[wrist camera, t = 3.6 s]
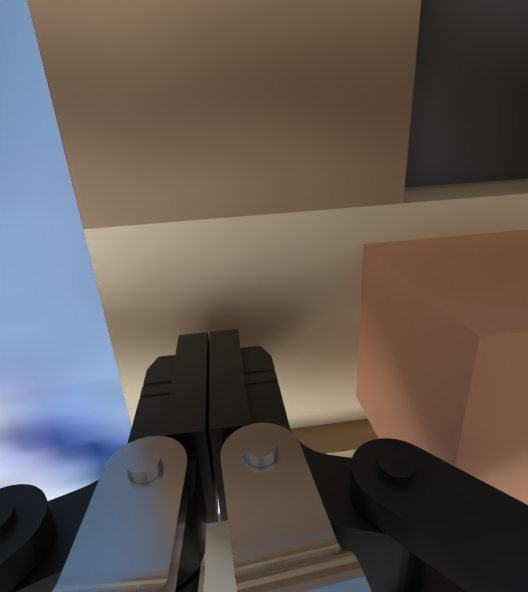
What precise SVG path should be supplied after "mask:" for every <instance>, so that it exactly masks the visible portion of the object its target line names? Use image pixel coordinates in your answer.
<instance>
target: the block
mask: <svg viewBox="0 0 528 592" xmlns="http://www.w3.org/2000/svg"><path fill="white" fill-rule="evenodd" d="M356 397H357V399H358V401H359V403H360V405H361V406H362V408H363V410H364V412H365V414H366V416H367V418H368V420H369V422H370V423H371V425H372V427H373V429H374V431H375V433H376V435H377V437H378V439H379V438H392V439H398V440H402V441H405V442H409V443H411V444H413V445H415V446H417V447H419V448H421V449H423V450H425V451H427V452H429V453H430V454H432V455H434V456H436V457H438V458H440V459H442V460H444V461H446V462H447V463H449V464H451V465H453V466H455V467H457V468H459V469H461V470H463V471H465V472H466V473H468V474H470V475H472V476H474V477H476V478H478V479H480V480H482V481H483V482H485V483H487V484H489V485H491V486H493V487H495V488H497V489H499V490H500V491H502V492H504V493H506V494H508V495H510V496H512V497H514V498H516V499H518V500H519V501H521V502H523V503H525V504H527V505H528V230H517V231H506V232H495V233H483V234H472V235H461V236H450V237H439V238H427V239H416V240H405V241H394V242H383V243H371V244H364V248H363V268H362V287H361V307H360V326H359V346H358V365H357V385H356Z"/></svg>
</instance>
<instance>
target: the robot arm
mask: <svg viewBox="0 0 528 592" xmlns="http://www.w3.org/2000/svg"><path fill="white" fill-rule="evenodd" d="M218 499H219V507H220V514H221V521H225V520H228V522H229V530H230V538H231V546H232V554H233V562H234V570H235V578H236V586H237V592H528V505H527V504H525V503H523V502H521V501H519V500H518V499H516V498H514V497H512V496H510V495H508V494H506V493H504V492H502V491H500V490H499V489H497V488H495V487H493V486H491V485H489V484H487V483H485V482H483V481H482V480H480V479H478V478H476V477H474V476H472V475H470V474H468V473H466V472H465V471H463V470H461V469H459V468H457V467H455V466H453V465H451V464H449V463H447V462H446V461H444V460H442V459H440V458H438V457H436V456H434V455H432V454H430V453H429V452H427V451H425V450H423V449H421V448H419V447H417V446H415V445H413V444H411V443H409V442H405V441H402V440H398V439H392V438H379V439H374V440H371V441H368V442H366V443H364V444H362V445H361V446H360V447H359V448H358V449H357V450H356V451H355V452H354V455H353V457H352V458H350V457H342V456H335V455H329V454H324V453H320V452H317V451H314V450H312V449H310V448H308V447H307V446H305V445H303V444H302V443H301V442H300V441H299V440H298V439H297V438H296V436H295V435H294V434H293V433H292V431H291V429H290V426H289V422H288V418H287V414H286V410H285V406H284V402H283V399H282V395H281V391H280V387H279V383H278V379H277V375H276V372H275V367H274V364H273V360H272V356H271V355H270V354H269V353H268V352H267V351H266V350H265V349H264V348H262V347H261V346H253V347H243V348H240V340H239V333H238V329H231V330H221V331H211V332H210V343H209V336H208V332H202V333H193V334H183V335H179V336H178V341H177V348H176V354H175V355H169V356H159V357H158V358H157V359H156V360H155V361H154V362H153V363H152V364H151V366H150V367H149V368H148V369H147V371H146V375H145V379H144V382H143V387H142V390H141V394H140V399H139V402H138V405H137V409H136V413H135V417H134V421H133V424H132V428H131V432H130V436H129V440H128V444H127V445H125V446H124V447H122V448H121V449H119V450H118V451H117V452H116V453H115V454H114V455H113V456H112V457H111V458H110V459H109V460H108V462H107V463H106V465H105V467H104V469H103V471H102V474H101V476H100V479H99V480H97V481H95V482H94V483H92V484H90V485H88V486H85V487H83V488H81V489H78V490H76V491H73V492H71V493H68V494H65V495H63V496H60V497H58V498H55V499H53V500H50V501H47V499H46V496H45V494H44V493H43V492H42V491H41V490H40V489H39V488H37V487H35V486H32V485H26V484H19V485H11V486H7V487H3V488H0V592H203V585H204V573H205V559H204V553H205V542H206V539H205V538H206V523H213V522H218Z"/></svg>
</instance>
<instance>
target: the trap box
mask: <svg viewBox="0 0 528 592" xmlns="http://www.w3.org/2000/svg"><path fill="white" fill-rule="evenodd" d="M27 1H28V5H29V9H30V13H31V17H32V22H33V26H34V30H35V34H36V38H37V42H38V46H39V50H40V54H41V58H42V62H43V66H44V70H45V75H46V79H47V83H48V87H49V91H50V95H51V99H52V103H53V107H54V111H55V115H56V119H57V124H58V128H59V132H60V136H61V140H62V144H63V148H64V152H65V156H66V160H67V164H68V168H69V172H70V177H71V181H72V185H73V189H74V193H75V197H76V201H77V205H78V209H79V213H80V217H81V221H82V225H83V230H84V234H85V238H86V242H87V246H88V250H89V254H90V258H91V262H92V266H93V270H94V274H95V278H96V283H97V287H98V291H99V295H100V299H101V303H102V307H103V311H104V315H105V319H106V323H107V327H108V331H109V336H110V340H111V344H112V348H113V352H114V356H115V360H116V364H117V368H118V372H119V376H120V380H121V384H122V389H123V393H124V397H125V401H126V405H127V409H128V413H129V417H130V421H131V425H132V424H133V421H134V417H135V413H136V409H137V405H138V402H139V399H140V394H141V390H142V387H143V382H144V379H145V375H146V371H147V369H148V368H149V367H150V366H151V364H152V363H153V362H154V361H155V360H156V359H157V358H158V357H159V356H169V355H175V354H176V348H177V341H178V336H179V335H183V334H193V333H202V332H208V336H209V343H210V332H211V331H221V330H231V329H238V333H239V340H240V348H243V347H253V346H261V347H262V348H264V349H265V350H266V351H267V352H268V353H269V354H270V355H271V356H272V360H273V364H274V367H275V372H276V375H277V379H278V383H279V387H280V391H281V395H282V399H283V402H284V406H285V410H286V414H287V418H288V422H289V426H290V429H291V431H292V433H293V434H294V435H295V436H296V438H297V439H298V440H299V441H300V442H301V443H302V444H303V445H305V446H307V447H308V448H310V449H312V450H314V451H317V452H320V453H324V454H329V455H335V456H342V457H350V458H352V457H353V455H354V452H355V451H356V450H357V449H358V448H359V447H360V446H361V445H362V444H364V443H366V442H368V441H371V440H374V439H378V437H377V435H376V433H375V431H374V429H373V427H372V425H371V423H370V422H369V420H368V418H367V416H366V414H365V412H364V410H363V408H362V406H361V405H360V403H359V401H358V399H357V397H356V385H357V365H358V346H359V326H360V307H361V287H362V268H363V248H364V244H371V243H383V242H394V241H405V240H416V239H427V238H439V237H450V236H461V235H472V234H483V233H495V232H506V231H517V230H528V0H27Z"/></svg>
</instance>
